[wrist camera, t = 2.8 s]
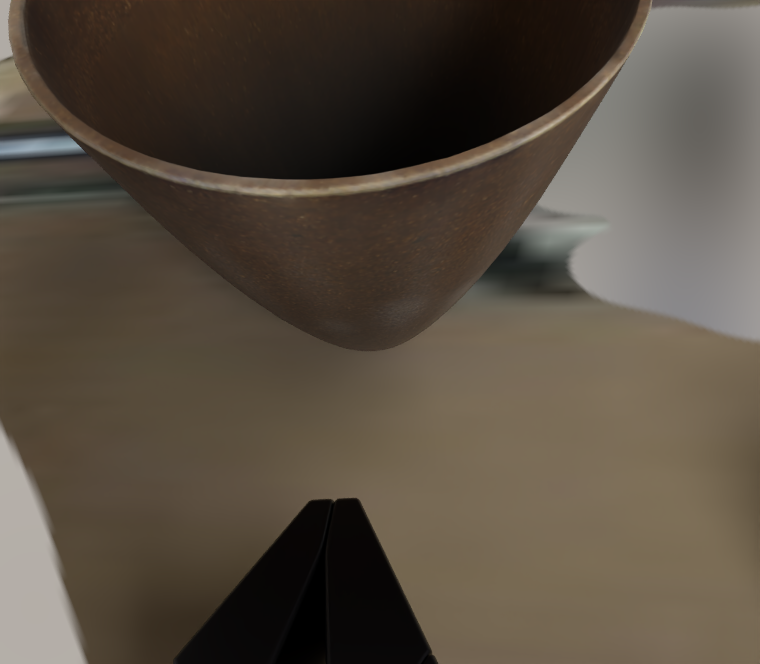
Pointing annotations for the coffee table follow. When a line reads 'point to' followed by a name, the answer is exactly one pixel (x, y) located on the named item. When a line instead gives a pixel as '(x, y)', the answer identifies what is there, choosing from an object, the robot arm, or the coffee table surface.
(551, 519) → the coffee table surface
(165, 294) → the coffee table surface
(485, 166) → the plant pot
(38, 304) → the coffee table surface
